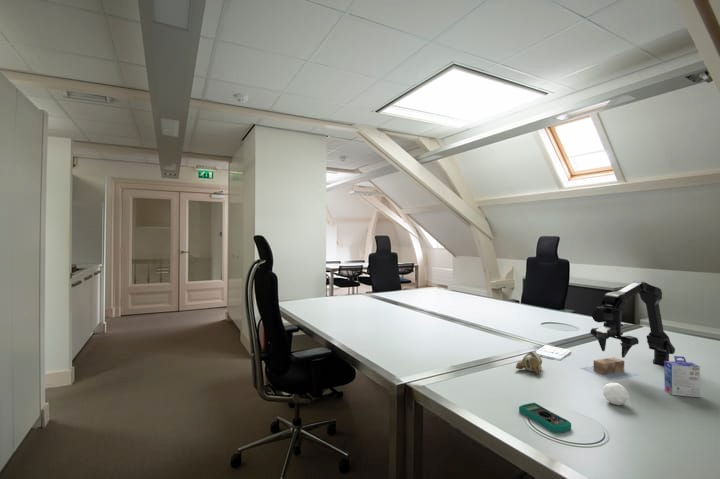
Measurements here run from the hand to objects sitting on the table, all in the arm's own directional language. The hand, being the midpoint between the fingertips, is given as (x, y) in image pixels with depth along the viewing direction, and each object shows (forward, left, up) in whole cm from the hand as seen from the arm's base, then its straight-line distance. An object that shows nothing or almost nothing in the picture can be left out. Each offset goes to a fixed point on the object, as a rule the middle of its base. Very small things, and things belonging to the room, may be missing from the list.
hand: (613, 354), depth 163 cm
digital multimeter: (+70, -15, -9) cm, 72 cm away
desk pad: (+2, -2, -8) cm, 9 cm away
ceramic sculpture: (+23, -30, -8) cm, 39 cm away
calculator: (-10, -27, -9) cm, 30 cm away
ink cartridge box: (+11, +23, -8) cm, 27 cm away
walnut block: (-3, +2, -5) cm, 7 cm away
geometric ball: (+39, +3, -8) cm, 40 cm away
